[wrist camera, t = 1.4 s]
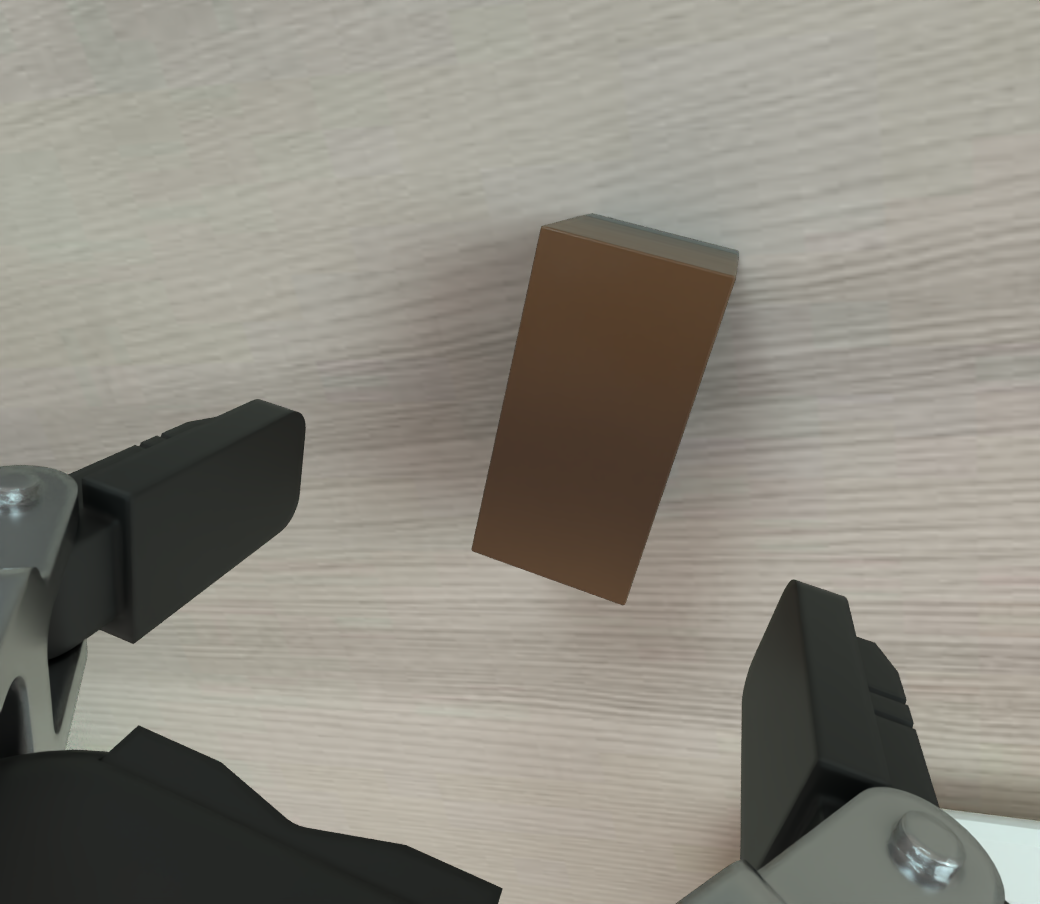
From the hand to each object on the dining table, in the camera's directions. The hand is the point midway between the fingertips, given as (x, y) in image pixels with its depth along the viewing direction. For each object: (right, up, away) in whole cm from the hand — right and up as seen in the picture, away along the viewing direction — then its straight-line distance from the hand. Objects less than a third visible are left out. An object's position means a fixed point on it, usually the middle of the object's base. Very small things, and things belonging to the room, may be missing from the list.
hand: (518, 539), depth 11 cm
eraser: (+3, +4, +9) cm, 10 cm away
